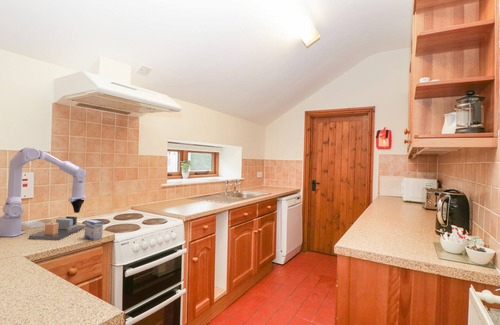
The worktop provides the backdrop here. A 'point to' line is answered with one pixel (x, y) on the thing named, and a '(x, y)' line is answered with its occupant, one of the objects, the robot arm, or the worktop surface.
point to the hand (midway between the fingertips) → (76, 212)
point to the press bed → (60, 235)
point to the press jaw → (66, 222)
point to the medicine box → (93, 229)
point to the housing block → (51, 228)
